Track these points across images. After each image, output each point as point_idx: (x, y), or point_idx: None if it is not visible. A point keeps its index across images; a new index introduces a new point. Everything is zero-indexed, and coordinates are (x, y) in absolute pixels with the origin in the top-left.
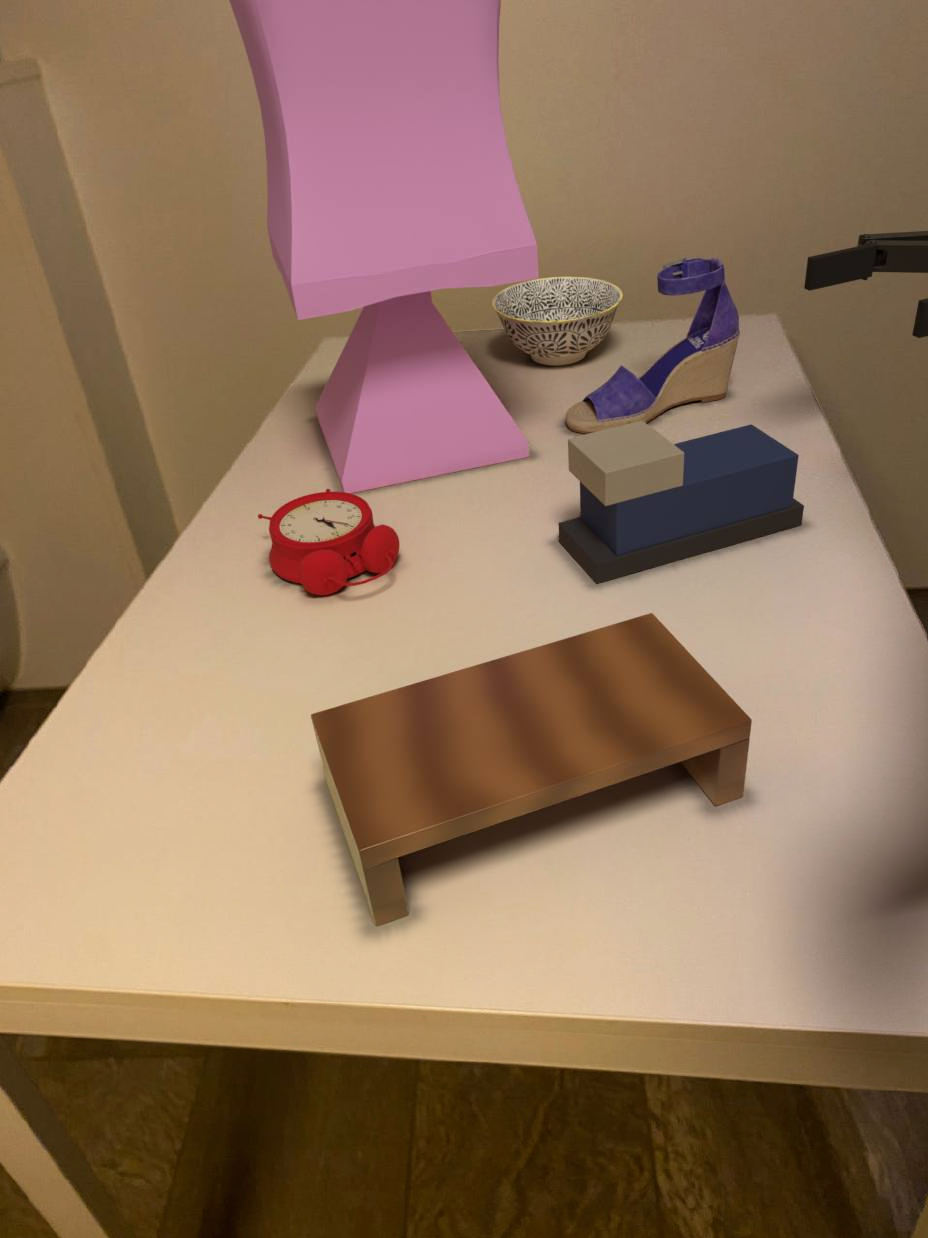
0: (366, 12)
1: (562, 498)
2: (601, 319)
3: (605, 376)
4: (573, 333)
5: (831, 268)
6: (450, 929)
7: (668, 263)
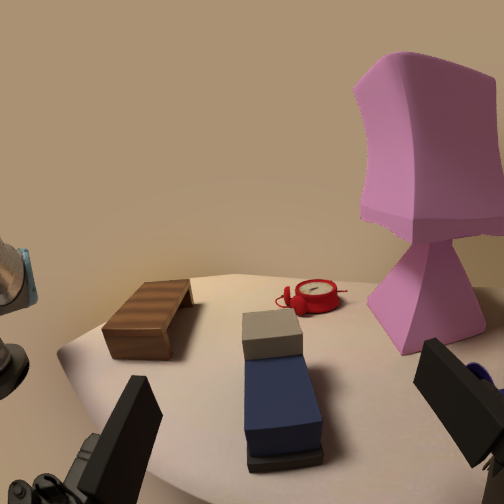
0: (369, 99)
1: (345, 366)
2: None
3: None
4: None
5: (438, 383)
6: None
7: None
